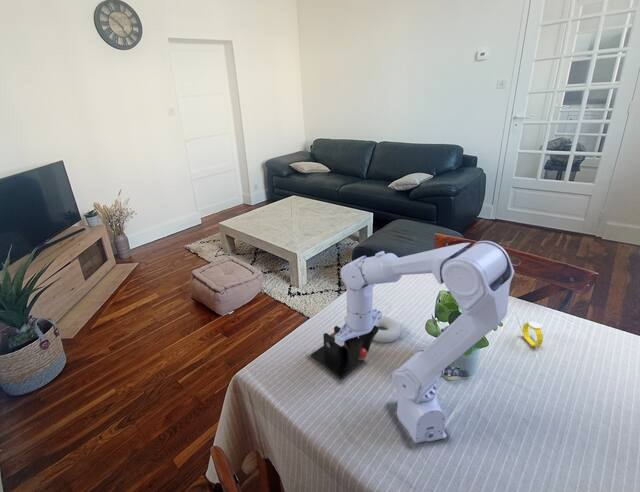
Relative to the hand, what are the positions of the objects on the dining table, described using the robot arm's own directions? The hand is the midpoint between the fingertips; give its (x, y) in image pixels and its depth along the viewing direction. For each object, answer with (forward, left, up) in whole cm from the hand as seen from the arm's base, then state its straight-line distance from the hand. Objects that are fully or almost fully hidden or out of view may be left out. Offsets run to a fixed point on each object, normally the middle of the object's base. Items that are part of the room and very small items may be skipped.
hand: (359, 354), depth 82 cm
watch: (+1, -48, -7) cm, 49 cm away
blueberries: (-3, -22, -7) cm, 24 cm away
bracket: (+7, +4, -7) cm, 10 cm away
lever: (+3, +2, -1) cm, 4 cm away
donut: (+14, -12, -7) cm, 20 cm away
